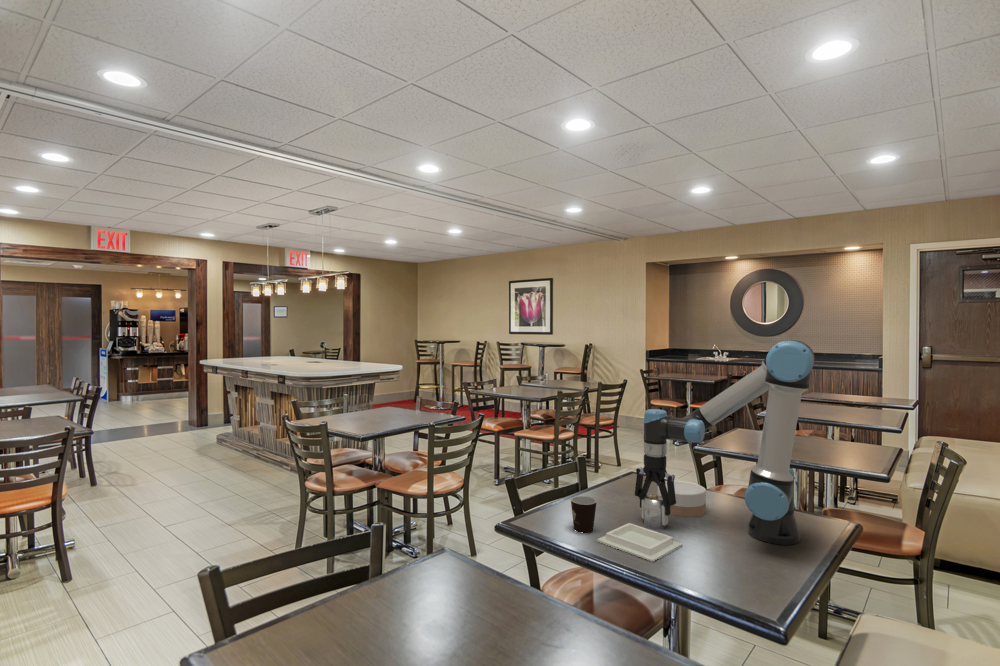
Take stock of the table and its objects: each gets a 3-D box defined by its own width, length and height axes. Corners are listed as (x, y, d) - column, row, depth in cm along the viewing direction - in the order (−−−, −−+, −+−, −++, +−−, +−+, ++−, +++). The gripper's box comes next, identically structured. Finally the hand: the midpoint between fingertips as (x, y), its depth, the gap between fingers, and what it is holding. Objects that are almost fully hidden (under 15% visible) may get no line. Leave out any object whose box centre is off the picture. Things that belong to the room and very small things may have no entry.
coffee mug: (596, 535, 170) (596, 505, 169) (569, 533, 171) (569, 503, 171) (596, 522, 181) (597, 494, 181) (572, 520, 183) (572, 492, 183)
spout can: (669, 525, 178) (669, 493, 178) (658, 531, 174) (658, 497, 174) (651, 520, 184) (651, 488, 183) (640, 525, 179) (640, 492, 179)
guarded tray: (682, 546, 161) (682, 537, 161) (652, 563, 150) (652, 553, 150) (627, 528, 176) (627, 519, 176) (596, 541, 165) (596, 533, 165)
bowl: (654, 500, 205) (654, 479, 204) (699, 502, 202) (699, 481, 202) (661, 516, 188) (661, 493, 187) (711, 519, 185) (711, 495, 185)
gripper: (623, 451, 183) (623, 515, 183) (676, 462, 168) (676, 532, 169) (635, 447, 188) (635, 510, 188) (687, 458, 173) (687, 526, 174)
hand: (654, 520), depth 179 cm, fingers open, 7 cm apart
